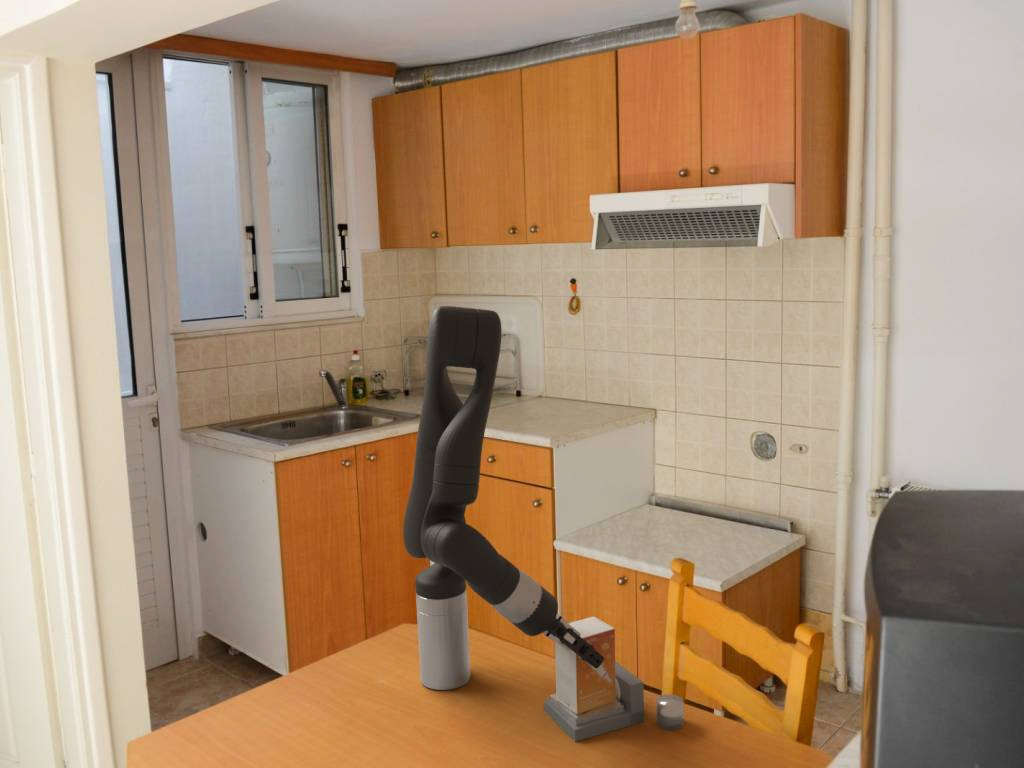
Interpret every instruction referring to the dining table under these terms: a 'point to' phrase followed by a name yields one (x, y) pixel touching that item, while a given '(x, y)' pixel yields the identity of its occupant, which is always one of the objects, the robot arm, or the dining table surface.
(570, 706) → the small box
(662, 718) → the cylinder
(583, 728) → the scale base
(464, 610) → the robot arm
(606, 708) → the platter
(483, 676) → the dining table surface
